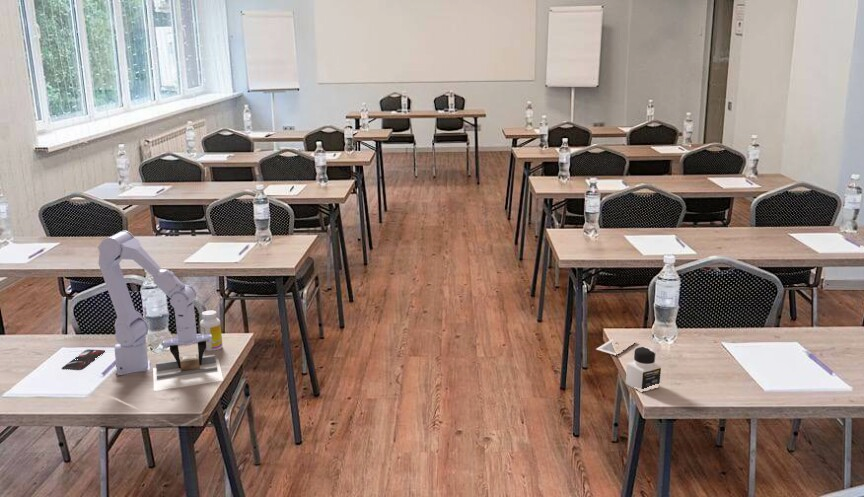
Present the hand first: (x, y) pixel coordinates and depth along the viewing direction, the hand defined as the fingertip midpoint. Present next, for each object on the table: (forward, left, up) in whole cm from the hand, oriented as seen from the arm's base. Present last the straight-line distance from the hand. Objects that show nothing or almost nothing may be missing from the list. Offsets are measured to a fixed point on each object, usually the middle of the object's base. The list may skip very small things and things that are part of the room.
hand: (190, 365), depth 235 cm
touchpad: (+136, -31, -3) cm, 140 cm away
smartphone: (-32, +22, -3) cm, 39 cm away
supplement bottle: (+8, +17, -2) cm, 18 cm away
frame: (0, 0, -1) cm, 1 cm away
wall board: (-1, -3, -2) cm, 4 cm away
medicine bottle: (+127, -58, -2) cm, 140 cm away
